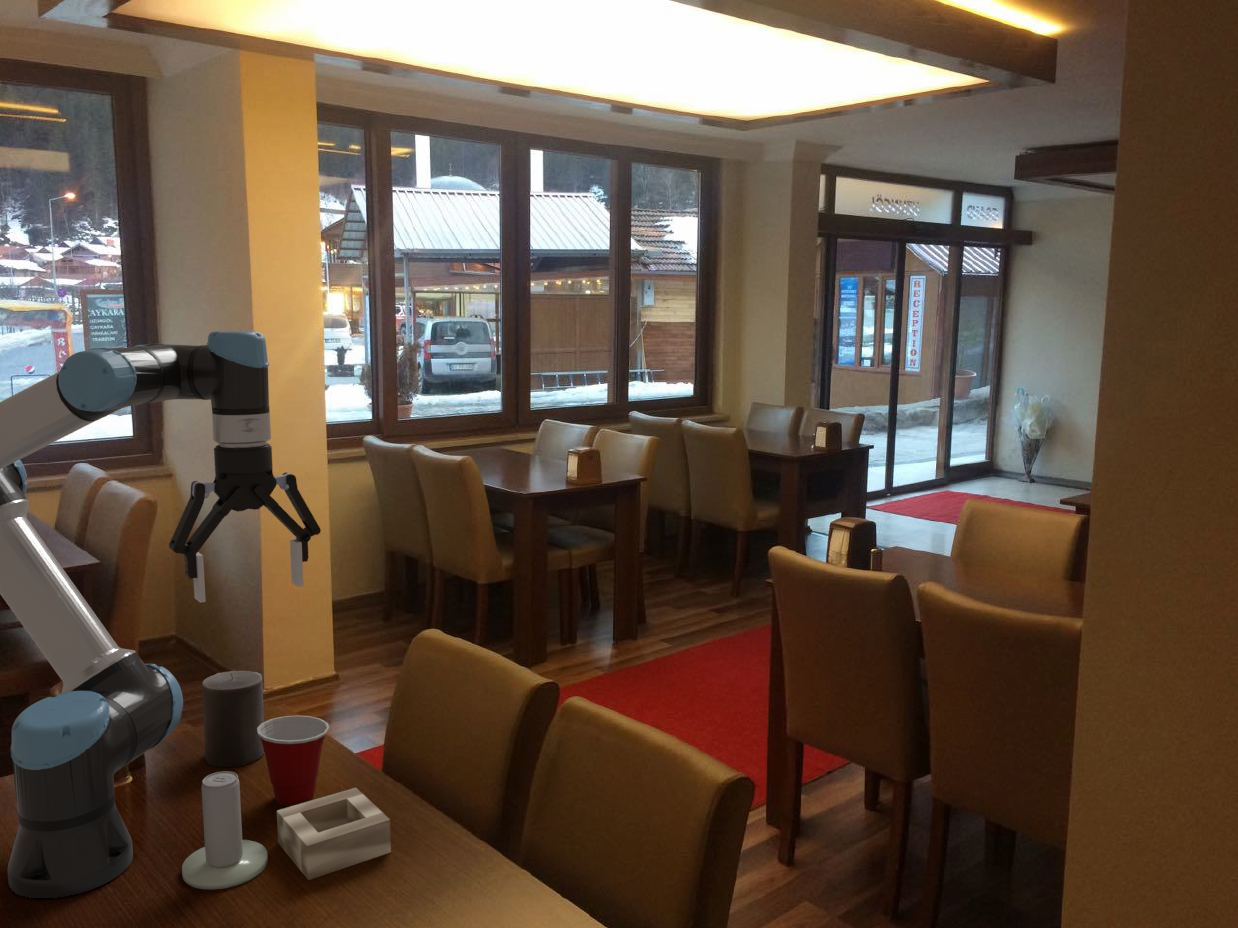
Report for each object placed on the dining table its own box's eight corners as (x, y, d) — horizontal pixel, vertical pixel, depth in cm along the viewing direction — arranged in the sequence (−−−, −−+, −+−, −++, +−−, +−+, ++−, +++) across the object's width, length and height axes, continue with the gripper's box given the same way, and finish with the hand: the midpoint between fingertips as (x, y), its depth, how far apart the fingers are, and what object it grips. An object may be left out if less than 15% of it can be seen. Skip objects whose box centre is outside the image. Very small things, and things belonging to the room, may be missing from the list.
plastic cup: (341, 801, 159) (339, 729, 157) (271, 821, 153) (267, 745, 151) (319, 775, 168) (316, 706, 166) (252, 792, 162) (248, 721, 160)
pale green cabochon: (173, 862, 142) (172, 855, 142) (252, 837, 148) (252, 831, 148) (194, 898, 133) (194, 891, 133) (278, 871, 140) (278, 864, 140)
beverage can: (230, 871, 138) (225, 788, 136) (198, 867, 139) (193, 784, 137) (250, 853, 142) (246, 772, 141) (219, 849, 143) (214, 769, 141)
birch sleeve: (278, 842, 147) (276, 810, 146) (357, 818, 154) (356, 787, 153) (308, 880, 138) (307, 845, 137) (390, 852, 145) (390, 819, 144)
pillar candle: (229, 773, 169) (225, 686, 166) (193, 758, 174) (189, 674, 172) (277, 752, 177) (274, 670, 175) (241, 739, 182) (238, 658, 180)
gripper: (152, 454, 130) (163, 613, 133) (339, 439, 145) (344, 583, 148) (139, 447, 136) (149, 600, 139) (320, 434, 151) (325, 572, 154)
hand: (250, 592), depth 144 cm, fingers open, 13 cm apart
